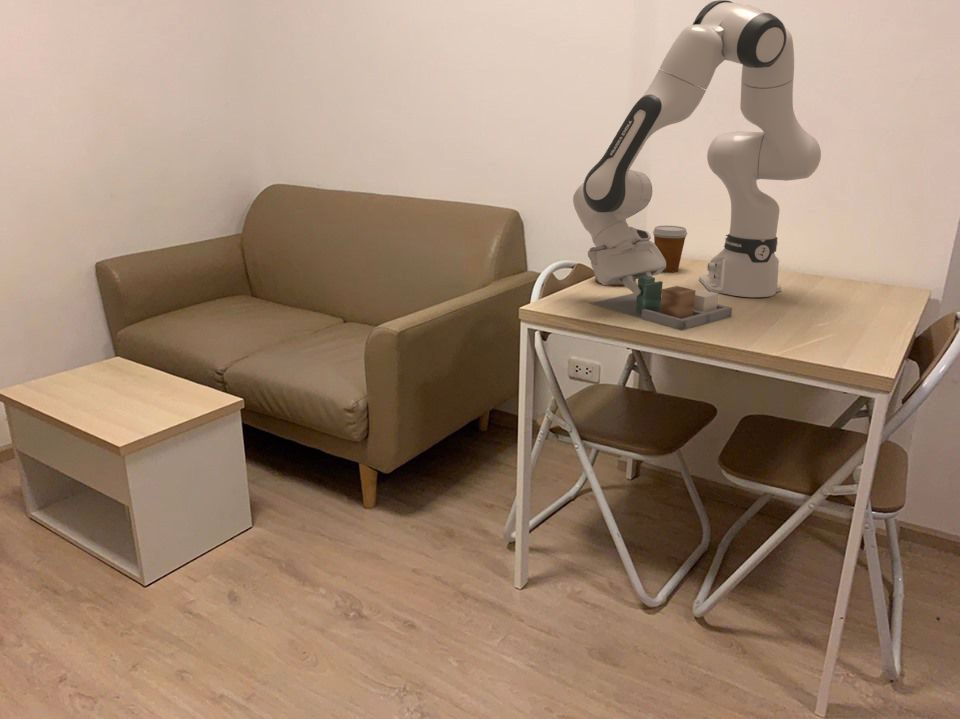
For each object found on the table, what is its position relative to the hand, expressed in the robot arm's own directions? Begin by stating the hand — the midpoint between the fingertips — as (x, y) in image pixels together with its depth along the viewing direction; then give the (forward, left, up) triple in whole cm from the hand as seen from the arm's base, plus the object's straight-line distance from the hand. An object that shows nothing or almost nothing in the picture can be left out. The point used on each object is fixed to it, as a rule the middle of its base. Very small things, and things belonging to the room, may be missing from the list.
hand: (646, 293), depth 173 cm
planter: (-31, +3, -5) cm, 32 cm away
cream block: (+4, +12, -4) cm, 13 cm away
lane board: (-2, +4, -5) cm, 6 cm away
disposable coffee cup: (-43, +22, -5) cm, 49 cm away
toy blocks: (+4, +2, -4) cm, 7 cm away
